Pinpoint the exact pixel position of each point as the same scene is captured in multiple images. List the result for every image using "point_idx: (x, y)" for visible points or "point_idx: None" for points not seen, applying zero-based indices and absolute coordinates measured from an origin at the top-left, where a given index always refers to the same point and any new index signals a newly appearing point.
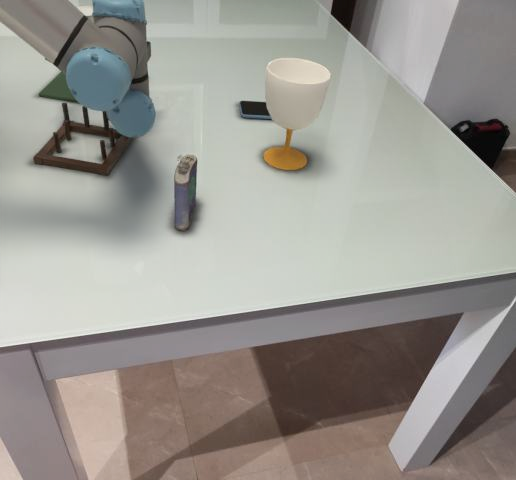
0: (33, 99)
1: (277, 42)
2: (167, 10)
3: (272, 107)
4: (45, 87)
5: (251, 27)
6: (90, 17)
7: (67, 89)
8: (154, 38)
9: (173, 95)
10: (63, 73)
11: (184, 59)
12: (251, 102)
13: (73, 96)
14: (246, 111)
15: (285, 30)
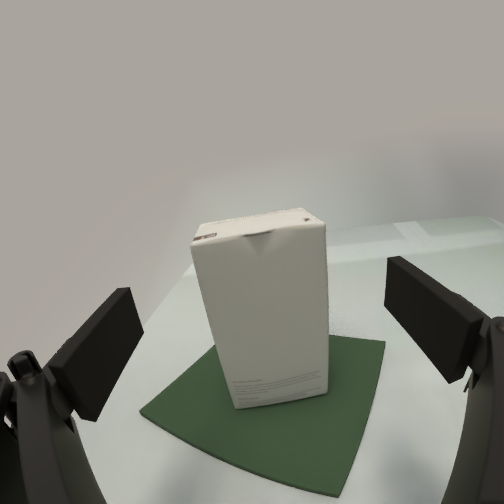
0: (125, 423)
1: (498, 247)
2: (370, 229)
3: None
4: (163, 391)
5: (461, 235)
6: (268, 236)
7: (205, 403)
8: (371, 259)
9: (462, 392)
10: None
11: None
12: None
13: (209, 435)
14: None
15: (489, 235)
